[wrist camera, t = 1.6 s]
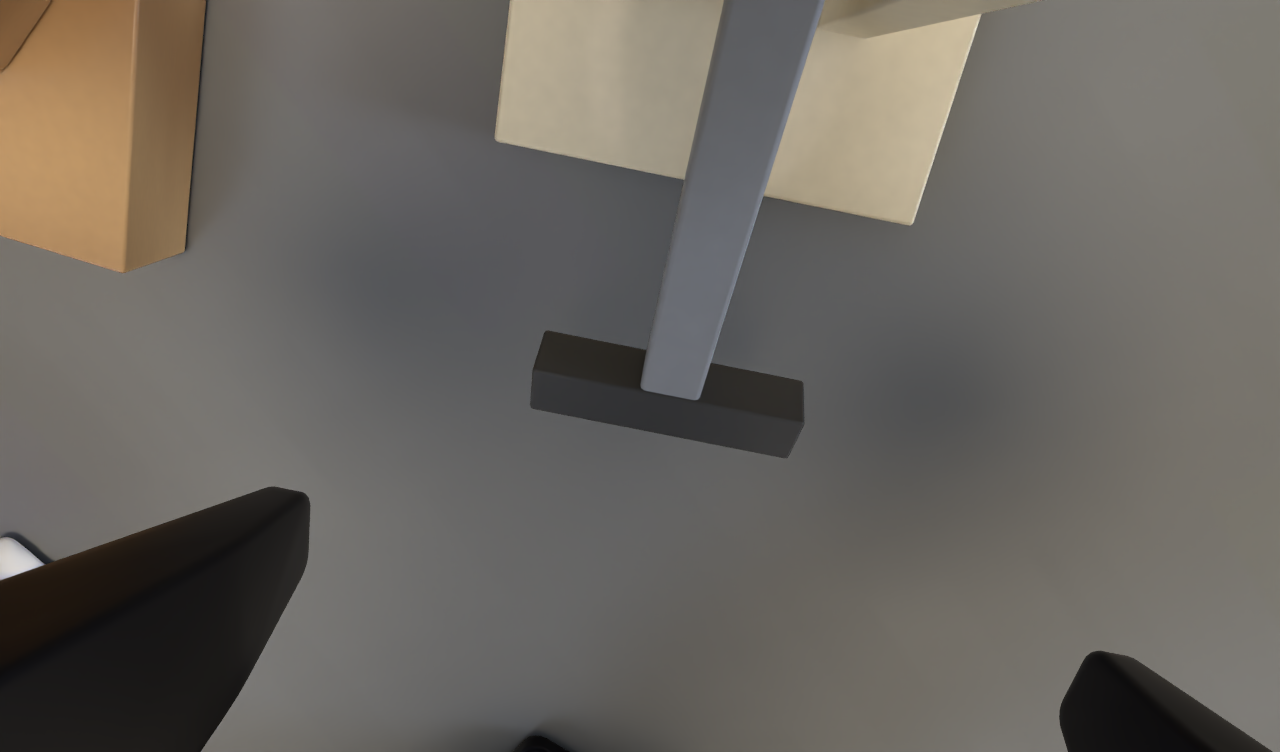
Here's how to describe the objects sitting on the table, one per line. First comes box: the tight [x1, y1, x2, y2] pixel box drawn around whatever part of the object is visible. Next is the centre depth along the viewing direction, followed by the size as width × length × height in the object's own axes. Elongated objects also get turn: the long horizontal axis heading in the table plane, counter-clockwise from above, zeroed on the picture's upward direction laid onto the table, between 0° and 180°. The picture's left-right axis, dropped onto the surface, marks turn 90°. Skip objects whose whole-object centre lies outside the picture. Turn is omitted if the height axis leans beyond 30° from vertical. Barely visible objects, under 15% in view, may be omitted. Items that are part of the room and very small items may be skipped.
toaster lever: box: [530, 0, 825, 458], centre depth 10 cm, size 12×5×2 cm, turn 169°
